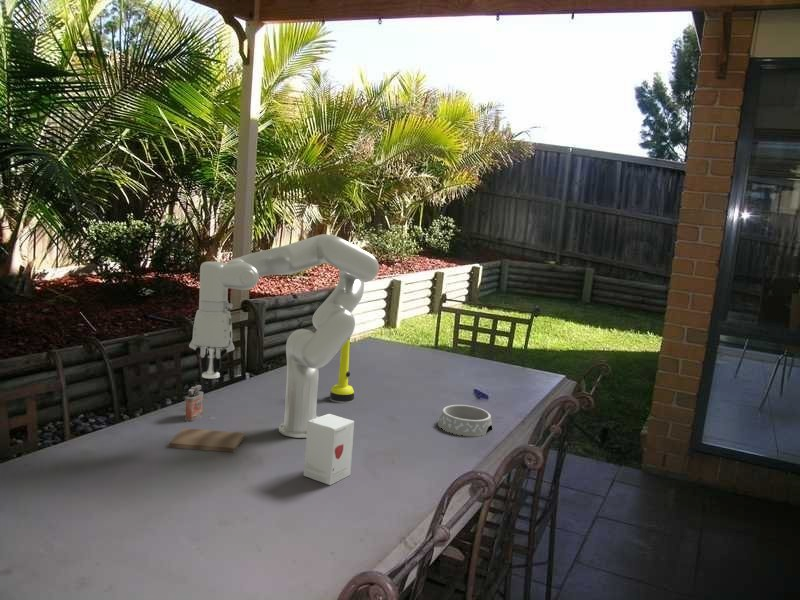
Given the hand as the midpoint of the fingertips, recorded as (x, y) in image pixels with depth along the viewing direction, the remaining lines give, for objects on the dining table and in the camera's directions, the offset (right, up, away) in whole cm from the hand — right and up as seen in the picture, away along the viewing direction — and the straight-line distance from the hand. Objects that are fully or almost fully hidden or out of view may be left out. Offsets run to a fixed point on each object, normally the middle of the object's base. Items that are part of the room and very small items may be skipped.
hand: (211, 370), depth 181 cm
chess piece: (0, -2, 0) cm, 2 cm away
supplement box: (+34, -26, -13) cm, 45 cm away
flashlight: (+32, -16, +53) cm, 64 cm away
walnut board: (-2, -21, +3) cm, 21 cm away
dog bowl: (+75, -23, +34) cm, 85 cm away
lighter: (-12, -17, +22) cm, 30 cm away
